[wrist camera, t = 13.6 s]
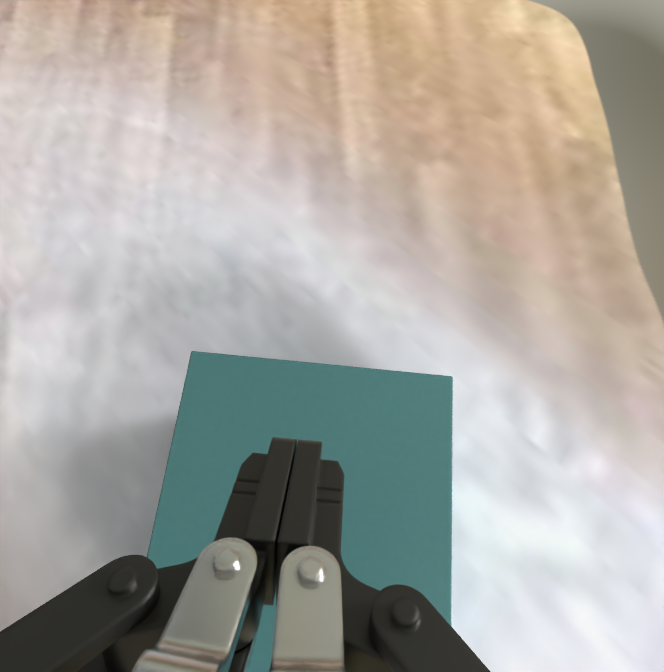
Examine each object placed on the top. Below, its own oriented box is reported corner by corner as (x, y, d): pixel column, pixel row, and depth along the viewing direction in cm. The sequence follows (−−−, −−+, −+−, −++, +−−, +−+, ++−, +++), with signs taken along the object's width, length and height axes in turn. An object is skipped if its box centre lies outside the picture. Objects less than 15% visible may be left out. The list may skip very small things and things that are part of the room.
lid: (195, 354, 25) (191, 350, 24) (449, 379, 25) (452, 376, 24) (115, 728, 19) (107, 738, 18) (445, 768, 19) (450, 780, 18)
